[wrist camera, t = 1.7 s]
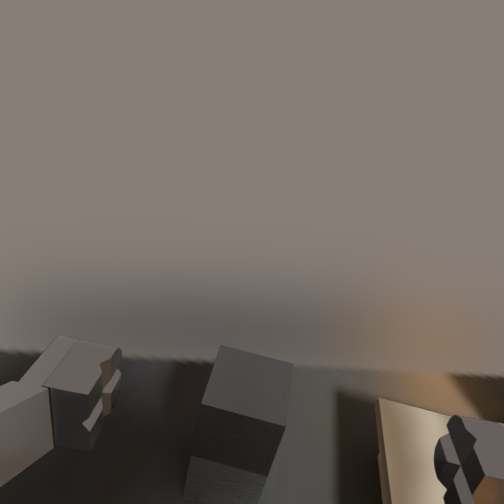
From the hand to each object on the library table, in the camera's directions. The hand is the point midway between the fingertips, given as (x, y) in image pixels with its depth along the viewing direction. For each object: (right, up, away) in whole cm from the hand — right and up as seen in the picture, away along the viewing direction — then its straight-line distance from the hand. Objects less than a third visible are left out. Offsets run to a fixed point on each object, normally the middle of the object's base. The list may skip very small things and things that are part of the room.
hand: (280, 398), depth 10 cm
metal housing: (-3, -13, +21) cm, 25 cm away
